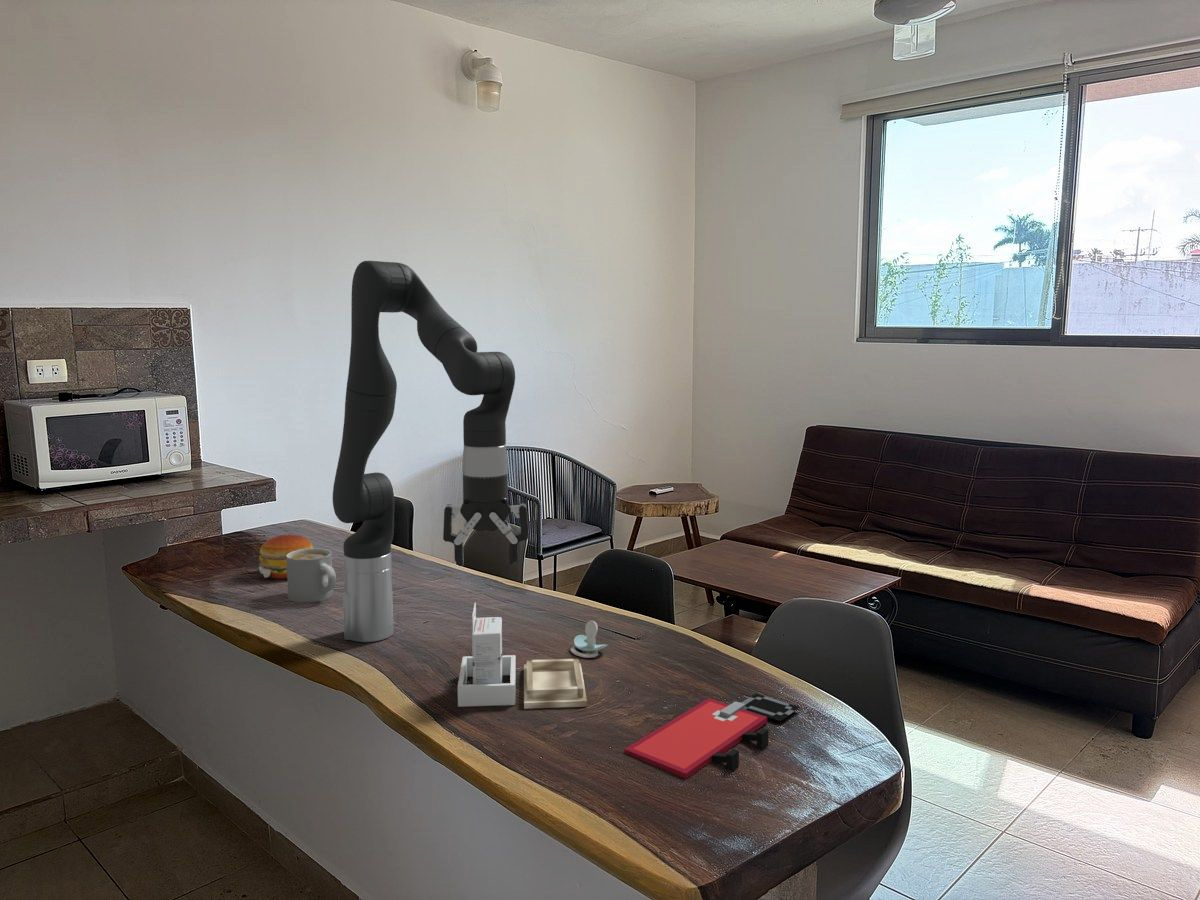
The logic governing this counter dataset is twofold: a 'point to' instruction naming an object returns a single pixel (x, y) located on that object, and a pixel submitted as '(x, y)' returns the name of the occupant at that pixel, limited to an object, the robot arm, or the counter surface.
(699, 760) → the red board with handle
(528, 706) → the tray
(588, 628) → the pacifier
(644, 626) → the counter surface
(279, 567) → the burger
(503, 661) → the box
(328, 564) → the coffee mug
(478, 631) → the ink box
